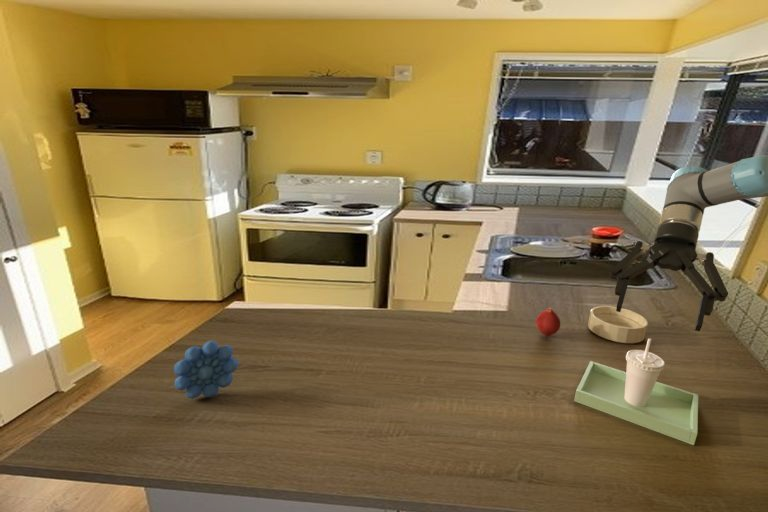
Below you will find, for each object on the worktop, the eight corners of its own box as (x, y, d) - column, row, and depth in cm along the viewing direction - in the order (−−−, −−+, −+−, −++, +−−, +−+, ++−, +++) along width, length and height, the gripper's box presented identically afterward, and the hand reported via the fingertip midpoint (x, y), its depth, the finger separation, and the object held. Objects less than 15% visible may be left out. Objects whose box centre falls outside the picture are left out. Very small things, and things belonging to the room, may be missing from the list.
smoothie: (612, 400, 84) (627, 337, 79) (621, 386, 88) (635, 326, 84) (649, 416, 79) (666, 350, 75) (657, 400, 84) (673, 337, 80)
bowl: (646, 330, 114) (650, 314, 112) (640, 350, 103) (644, 333, 102) (593, 316, 121) (596, 301, 120) (583, 333, 111) (585, 318, 109)
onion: (538, 328, 113) (542, 301, 110) (560, 335, 110) (565, 307, 107) (531, 337, 108) (535, 308, 106) (554, 344, 105) (559, 314, 103)
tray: (695, 405, 84) (698, 394, 83) (693, 445, 73) (697, 433, 72) (588, 370, 94) (590, 360, 94) (573, 401, 84) (576, 390, 83)
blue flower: (241, 379, 88) (236, 327, 84) (240, 399, 82) (235, 344, 78) (180, 388, 85) (172, 334, 81) (174, 409, 79) (166, 352, 75)
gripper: (747, 250, 87) (731, 344, 80) (613, 230, 101) (589, 309, 94) (757, 230, 82) (741, 329, 75) (613, 212, 95) (588, 294, 88)
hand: (656, 318), depth 84 cm, fingers open, 13 cm apart
